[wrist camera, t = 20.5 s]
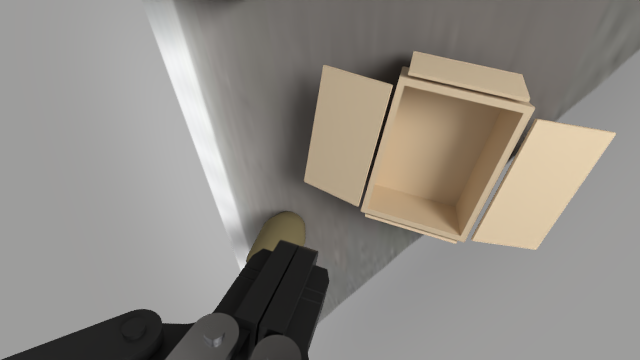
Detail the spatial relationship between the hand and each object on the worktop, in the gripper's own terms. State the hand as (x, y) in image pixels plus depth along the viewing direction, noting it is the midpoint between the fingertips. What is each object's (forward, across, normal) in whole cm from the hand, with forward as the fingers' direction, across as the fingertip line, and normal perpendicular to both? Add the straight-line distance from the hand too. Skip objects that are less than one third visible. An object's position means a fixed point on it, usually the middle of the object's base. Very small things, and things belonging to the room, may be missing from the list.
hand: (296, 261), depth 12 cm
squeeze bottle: (+37, +10, +29) cm, 48 cm away
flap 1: (+29, -1, +7) cm, 29 cm away
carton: (+37, -9, +7) cm, 39 cm away
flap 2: (+29, -17, +7) cm, 34 cm away
